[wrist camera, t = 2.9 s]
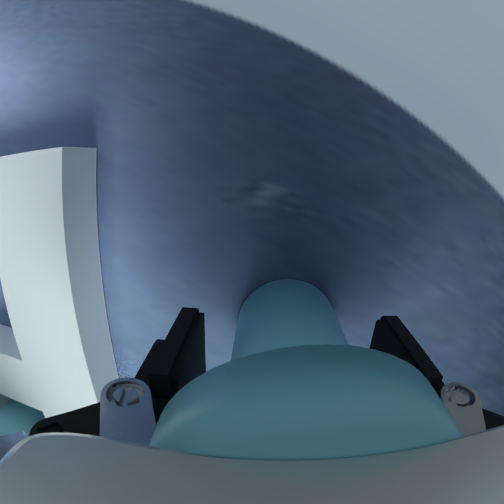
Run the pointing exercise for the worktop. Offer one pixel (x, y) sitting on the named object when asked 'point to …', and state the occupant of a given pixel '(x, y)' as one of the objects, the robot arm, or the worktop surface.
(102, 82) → the worktop surface
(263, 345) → the teal round plug
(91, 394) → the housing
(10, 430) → the teal flanged peg
